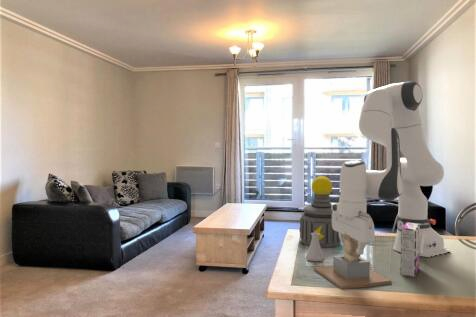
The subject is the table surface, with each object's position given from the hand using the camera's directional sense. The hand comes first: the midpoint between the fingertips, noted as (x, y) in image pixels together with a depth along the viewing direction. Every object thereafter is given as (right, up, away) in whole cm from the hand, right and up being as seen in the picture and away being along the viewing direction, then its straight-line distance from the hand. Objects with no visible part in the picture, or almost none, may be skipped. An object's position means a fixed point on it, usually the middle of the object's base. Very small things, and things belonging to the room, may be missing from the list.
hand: (351, 249), depth 126 cm
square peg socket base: (0, -9, 0) cm, 9 cm away
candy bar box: (+22, -9, +6) cm, 25 cm away
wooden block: (0, -8, 0) cm, 8 cm away
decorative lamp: (-1, -7, +43) cm, 43 cm away
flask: (-9, -8, +19) cm, 22 cm away
